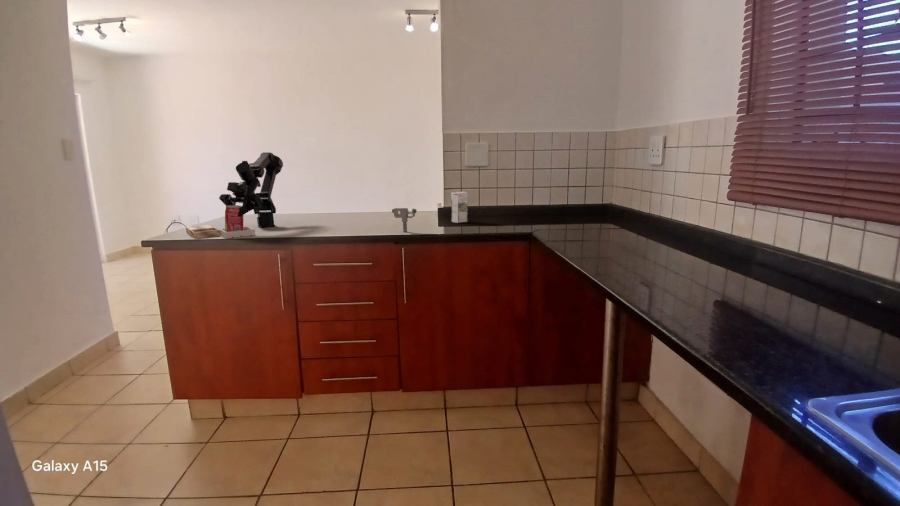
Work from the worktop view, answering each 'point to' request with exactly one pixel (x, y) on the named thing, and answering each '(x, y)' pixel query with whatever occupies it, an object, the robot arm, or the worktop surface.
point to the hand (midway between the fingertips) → (232, 216)
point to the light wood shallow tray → (202, 231)
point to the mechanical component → (403, 215)
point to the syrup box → (459, 207)
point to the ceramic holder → (237, 232)
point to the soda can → (233, 218)
